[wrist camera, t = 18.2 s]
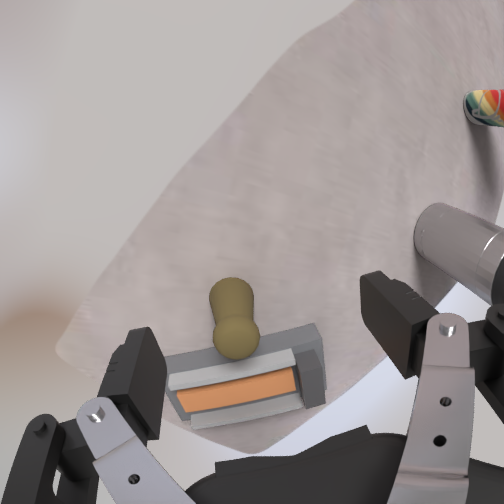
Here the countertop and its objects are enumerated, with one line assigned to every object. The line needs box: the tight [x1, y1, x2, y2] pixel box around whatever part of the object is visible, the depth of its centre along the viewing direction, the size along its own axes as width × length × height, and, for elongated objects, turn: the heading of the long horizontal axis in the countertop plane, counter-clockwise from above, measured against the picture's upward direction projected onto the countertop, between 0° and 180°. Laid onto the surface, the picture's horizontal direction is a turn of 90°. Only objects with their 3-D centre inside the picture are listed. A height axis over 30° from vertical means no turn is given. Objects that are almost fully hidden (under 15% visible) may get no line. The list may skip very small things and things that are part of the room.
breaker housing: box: [164, 323, 327, 430], centre depth 43 cm, size 24×11×8 cm, turn 102°
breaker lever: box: [177, 367, 296, 413], centre depth 43 cm, size 17×4×1 cm, turn 102°
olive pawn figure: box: [209, 278, 260, 360], centre depth 37 cm, size 6×6×11 cm
